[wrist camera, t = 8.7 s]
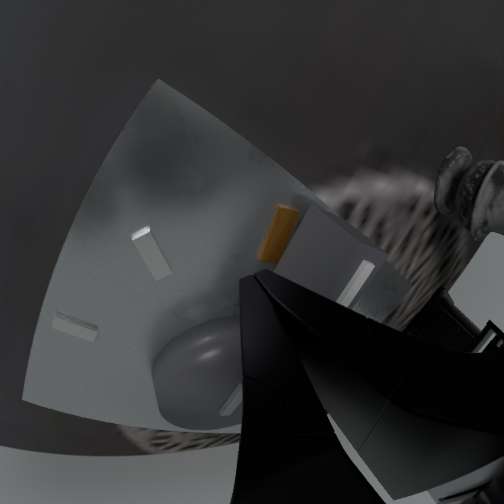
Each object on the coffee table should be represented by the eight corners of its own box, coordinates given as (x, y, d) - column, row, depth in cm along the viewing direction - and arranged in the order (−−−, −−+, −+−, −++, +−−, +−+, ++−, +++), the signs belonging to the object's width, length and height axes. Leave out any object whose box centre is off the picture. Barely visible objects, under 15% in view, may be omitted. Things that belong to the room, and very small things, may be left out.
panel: (402, 277, 20) (414, 287, 19) (256, 422, 24) (262, 434, 23) (155, 79, 8) (158, 78, 7) (23, 384, 12) (22, 402, 11)
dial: (251, 401, 19) (272, 446, 16) (139, 402, 15) (150, 458, 12) (372, 230, 14) (425, 271, 11) (237, 170, 10) (287, 215, 7)
